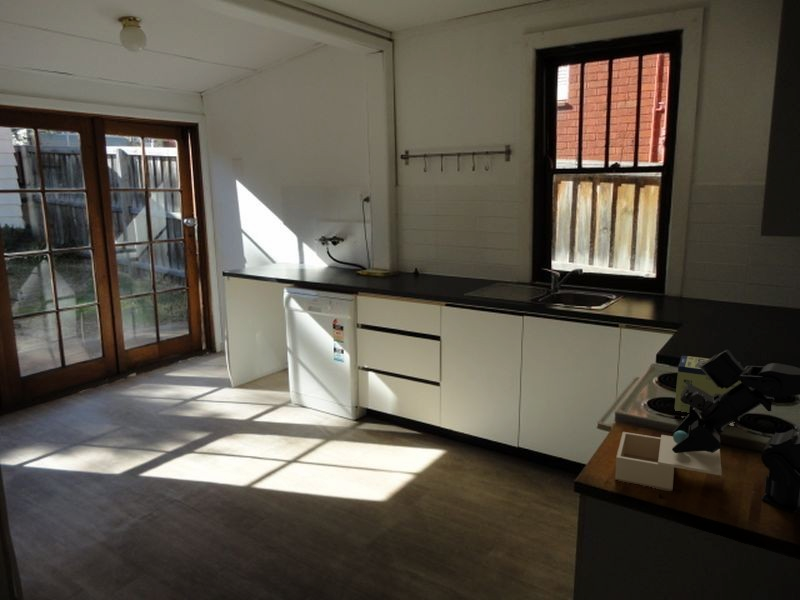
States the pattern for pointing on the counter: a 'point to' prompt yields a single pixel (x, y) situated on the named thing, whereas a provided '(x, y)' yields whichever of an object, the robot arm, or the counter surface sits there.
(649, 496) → the counter surface
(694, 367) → the protein box
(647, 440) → the carton
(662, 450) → the carton lid
